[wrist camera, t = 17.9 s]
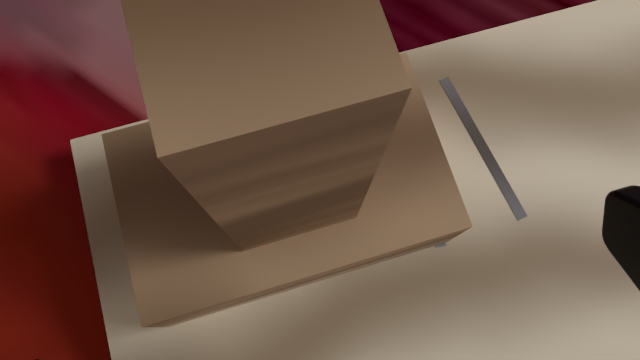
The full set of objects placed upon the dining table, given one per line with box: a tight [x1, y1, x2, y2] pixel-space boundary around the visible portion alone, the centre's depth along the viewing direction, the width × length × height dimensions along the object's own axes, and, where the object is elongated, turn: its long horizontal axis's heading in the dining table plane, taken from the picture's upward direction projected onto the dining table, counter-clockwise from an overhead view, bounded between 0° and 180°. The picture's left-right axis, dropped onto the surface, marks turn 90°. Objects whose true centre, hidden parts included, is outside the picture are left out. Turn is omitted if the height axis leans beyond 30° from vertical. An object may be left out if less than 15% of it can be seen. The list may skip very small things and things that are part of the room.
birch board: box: [70, 0, 640, 360], centre depth 19 cm, size 19×26×2 cm
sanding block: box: [101, 0, 473, 327], centre depth 13 cm, size 6×10×12 cm, turn 107°
